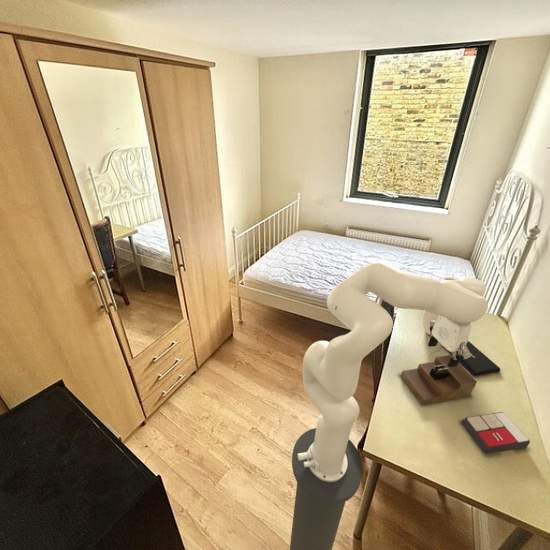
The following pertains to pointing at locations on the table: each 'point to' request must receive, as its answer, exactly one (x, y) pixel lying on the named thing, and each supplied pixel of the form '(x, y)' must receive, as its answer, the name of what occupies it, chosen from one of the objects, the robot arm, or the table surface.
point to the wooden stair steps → (439, 382)
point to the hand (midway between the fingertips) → (441, 355)
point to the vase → (431, 314)
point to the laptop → (478, 362)
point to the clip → (439, 372)
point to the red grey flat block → (495, 433)
